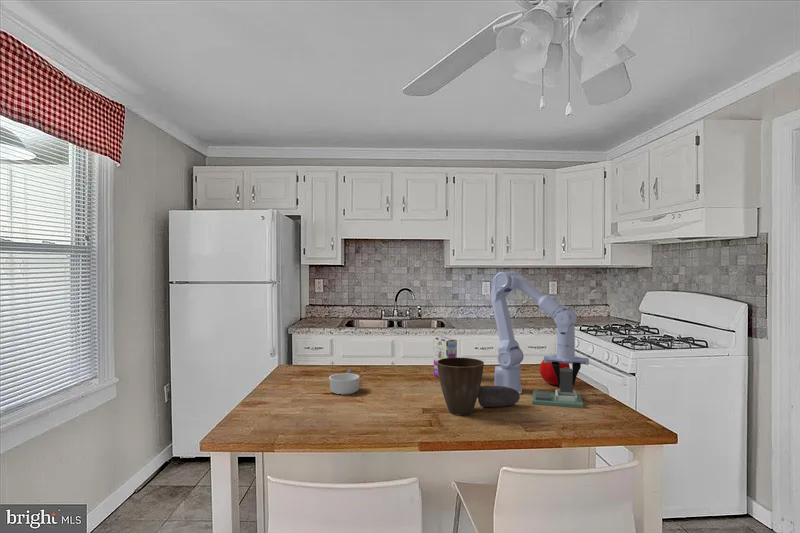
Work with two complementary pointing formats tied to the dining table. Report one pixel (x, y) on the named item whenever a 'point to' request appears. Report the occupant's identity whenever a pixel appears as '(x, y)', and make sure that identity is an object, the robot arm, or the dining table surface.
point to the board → (557, 398)
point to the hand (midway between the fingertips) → (566, 384)
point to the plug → (566, 380)
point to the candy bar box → (443, 350)
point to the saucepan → (344, 383)
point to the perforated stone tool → (497, 396)
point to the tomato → (550, 372)
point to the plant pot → (460, 383)
